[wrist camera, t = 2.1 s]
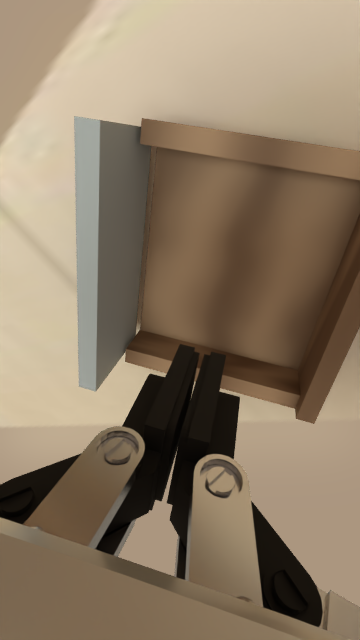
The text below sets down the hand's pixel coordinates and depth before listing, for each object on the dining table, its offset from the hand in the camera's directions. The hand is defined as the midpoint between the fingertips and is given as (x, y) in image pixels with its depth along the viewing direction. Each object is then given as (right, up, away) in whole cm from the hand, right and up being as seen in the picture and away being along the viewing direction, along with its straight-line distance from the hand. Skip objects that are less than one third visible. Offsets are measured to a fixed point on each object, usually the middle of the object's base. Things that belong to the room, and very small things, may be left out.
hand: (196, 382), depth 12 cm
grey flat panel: (-3, +7, +12) cm, 14 cm away
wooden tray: (+4, +6, +13) cm, 15 cm away
